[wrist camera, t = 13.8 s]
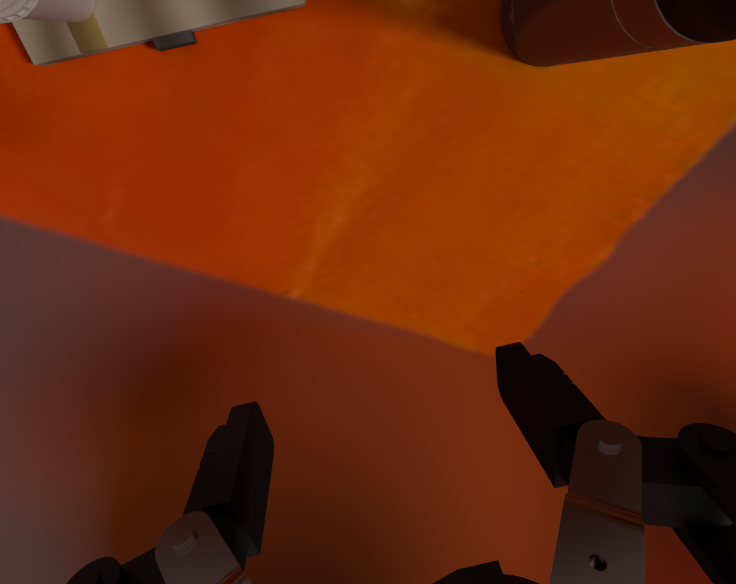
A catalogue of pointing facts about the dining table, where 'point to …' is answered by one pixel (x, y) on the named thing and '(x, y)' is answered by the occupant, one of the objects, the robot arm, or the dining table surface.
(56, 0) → the white drink cup
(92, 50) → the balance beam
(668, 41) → the robot arm
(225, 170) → the dining table surface
